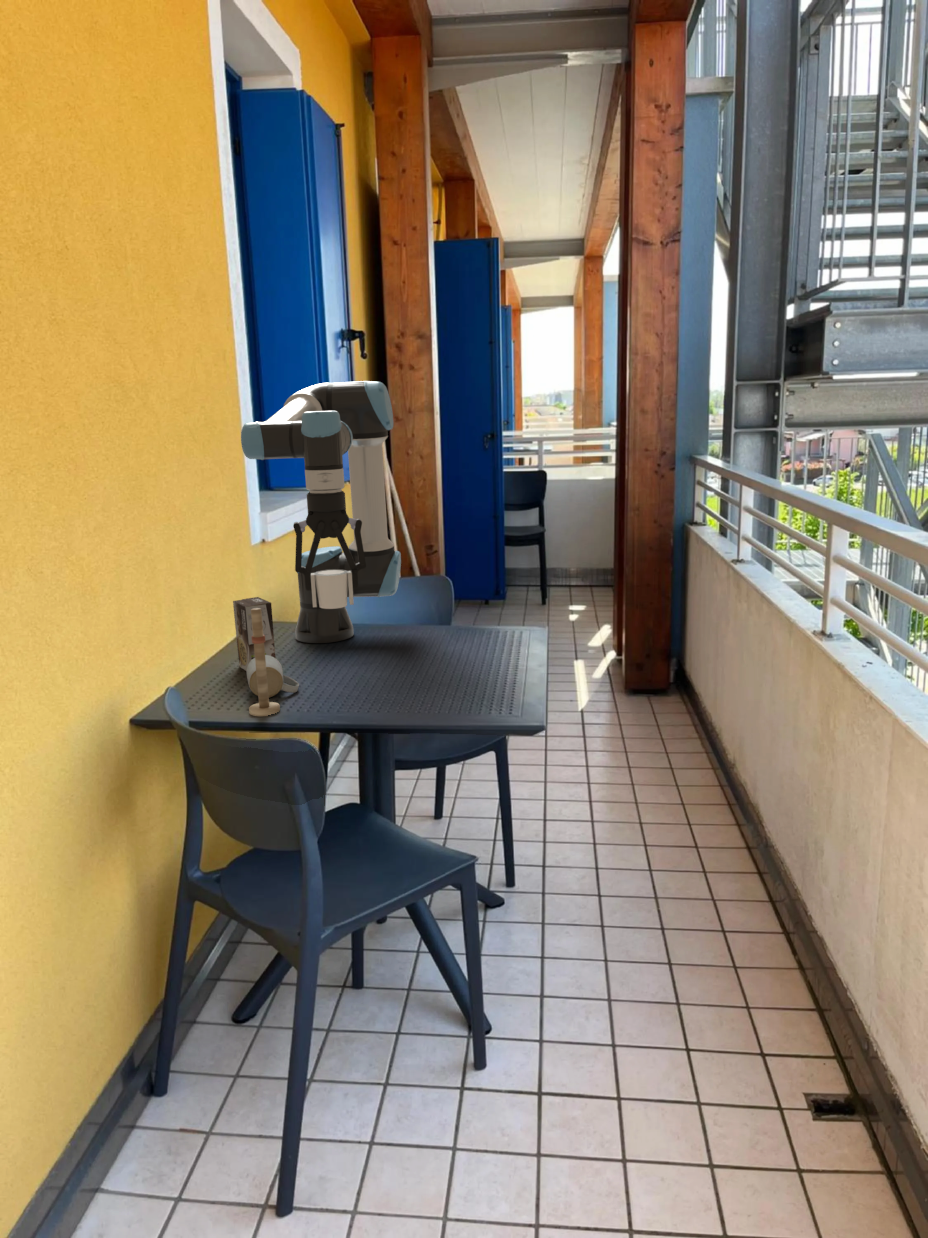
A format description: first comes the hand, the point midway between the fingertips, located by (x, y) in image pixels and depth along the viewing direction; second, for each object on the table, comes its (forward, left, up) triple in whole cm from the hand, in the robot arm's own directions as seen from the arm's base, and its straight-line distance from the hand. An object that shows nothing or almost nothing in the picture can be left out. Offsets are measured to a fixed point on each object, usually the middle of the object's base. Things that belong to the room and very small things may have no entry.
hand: (333, 604), depth 185 cm
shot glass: (0, 0, -1) cm, 1 cm away
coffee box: (-27, -18, -20) cm, 38 cm away
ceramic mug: (-7, -14, -20) cm, 26 cm away
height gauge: (+5, -15, -20) cm, 25 cm away
